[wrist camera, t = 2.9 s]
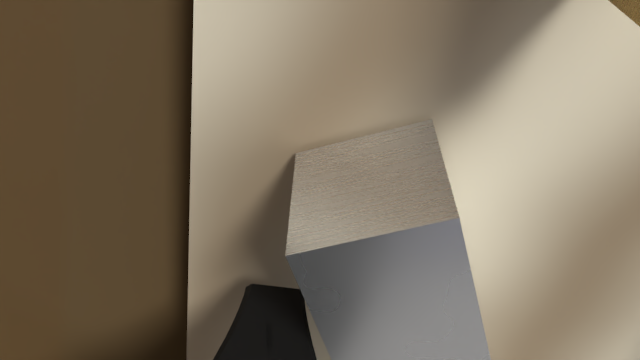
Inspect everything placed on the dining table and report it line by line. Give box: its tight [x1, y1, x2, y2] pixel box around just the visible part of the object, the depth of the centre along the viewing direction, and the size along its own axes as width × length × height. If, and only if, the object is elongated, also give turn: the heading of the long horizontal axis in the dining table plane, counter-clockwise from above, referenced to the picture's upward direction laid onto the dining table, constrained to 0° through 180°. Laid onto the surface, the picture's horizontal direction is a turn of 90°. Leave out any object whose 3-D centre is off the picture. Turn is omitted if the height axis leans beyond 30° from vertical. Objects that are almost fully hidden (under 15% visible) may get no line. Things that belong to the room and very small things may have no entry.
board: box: [187, 0, 640, 360], centre depth 13 cm, size 18×24×1 cm
